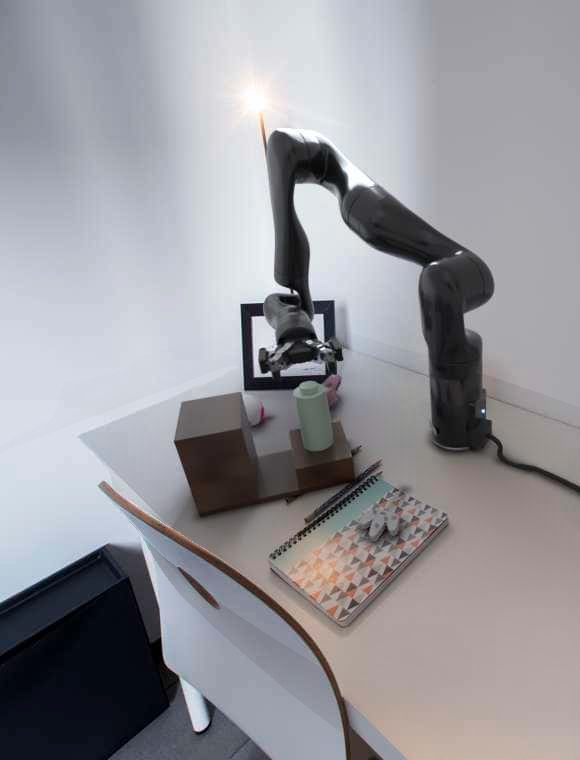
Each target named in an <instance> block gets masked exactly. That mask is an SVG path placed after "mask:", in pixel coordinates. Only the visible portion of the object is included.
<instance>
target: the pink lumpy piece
mask: <svg viewBox="0 0 580 760" xmlns="http://www.w3.org/2000/svg"><path fill="white" fill-rule="evenodd" d="M342 379H343V376H341V375H337V374H334V373H331V375H329V376H328V377H327V378H326V379H325V380H324V381H323V382H322V383H320V384H321V385H323V386H324V387H325V389H326V395H327V401H328V407H329V409H330V408H331V405H332V404H333V403H337V401H338V400H339V399H338V394H337V391H338V389H339V388H340V387H341V384H342Z"/></svg>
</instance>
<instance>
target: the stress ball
mask: <svg viewBox="0 0 580 760" xmlns="http://www.w3.org/2000/svg"><path fill="white" fill-rule="evenodd" d="M242 397H243V401H244V405H245V409H246V413H247V417H248V420H249V424H250V427H254V426H256V425H258V424H260V423H261V422H262V420H265V419H270V417H267V416H266V417H265V407H264V404H263V402H262V401H261V400H260V399H259V398H258V397H256V396H254V395H252V394H242Z"/></svg>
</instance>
